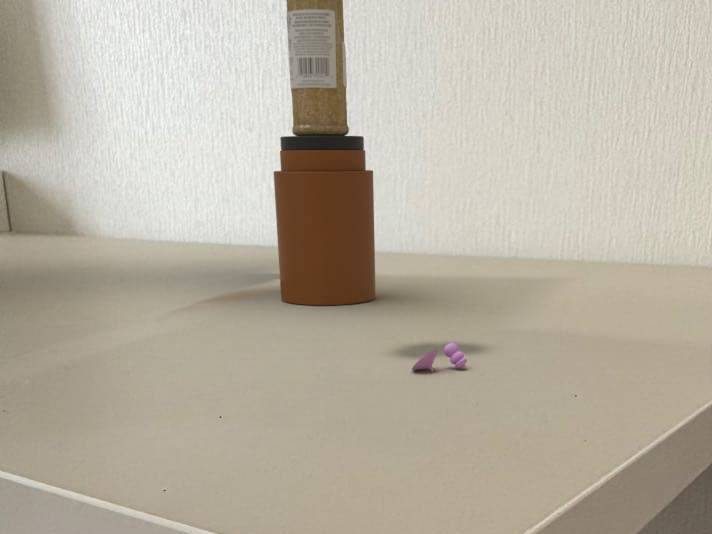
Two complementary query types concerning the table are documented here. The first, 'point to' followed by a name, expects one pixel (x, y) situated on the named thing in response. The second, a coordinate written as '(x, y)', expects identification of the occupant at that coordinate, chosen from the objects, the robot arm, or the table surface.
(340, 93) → the sprinkles bottle
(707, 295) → the table surface
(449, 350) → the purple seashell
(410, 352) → the table surface
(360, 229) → the amber bottle
